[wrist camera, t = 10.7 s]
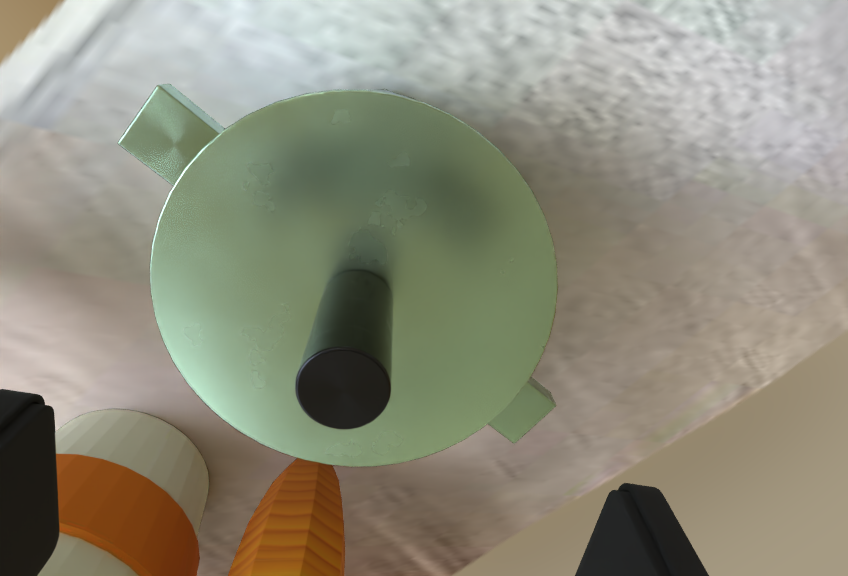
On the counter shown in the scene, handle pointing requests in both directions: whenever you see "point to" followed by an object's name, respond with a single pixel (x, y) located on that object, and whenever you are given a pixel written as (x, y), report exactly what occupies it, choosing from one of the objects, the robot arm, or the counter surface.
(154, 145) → the pot
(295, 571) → the carrot
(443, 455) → the counter surface
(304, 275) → the lid
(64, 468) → the reusable coffee cup
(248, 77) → the counter surface
